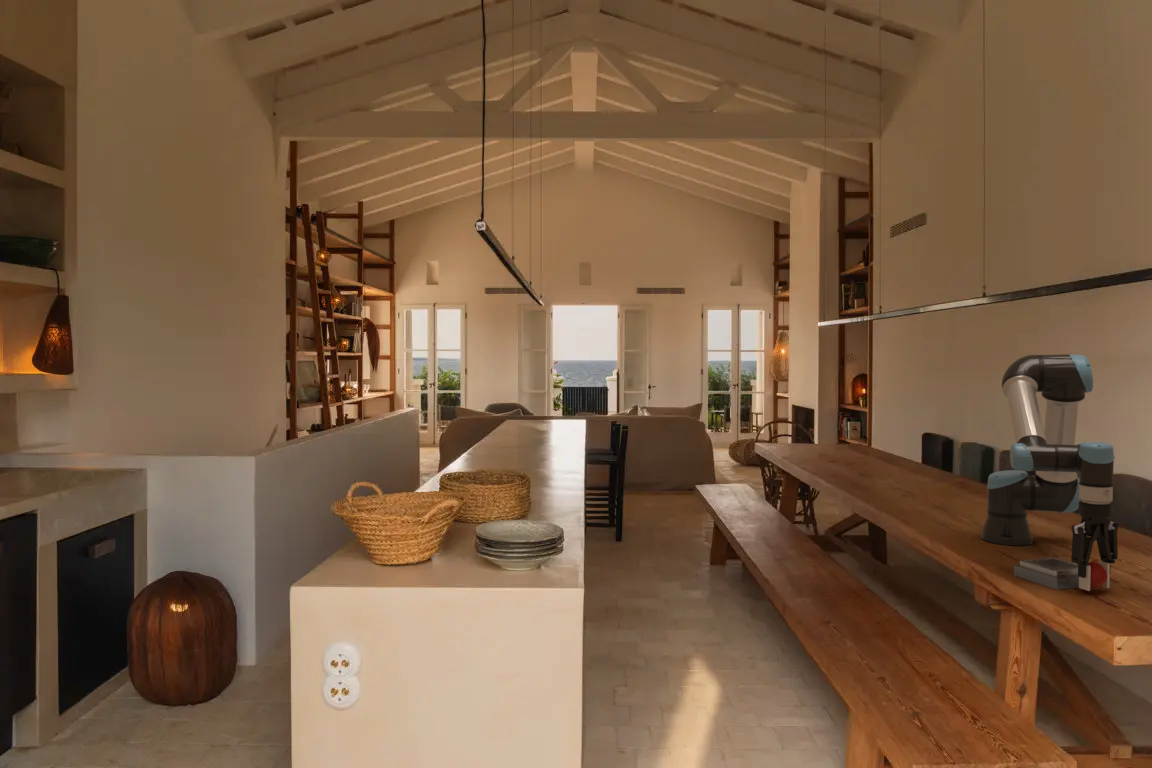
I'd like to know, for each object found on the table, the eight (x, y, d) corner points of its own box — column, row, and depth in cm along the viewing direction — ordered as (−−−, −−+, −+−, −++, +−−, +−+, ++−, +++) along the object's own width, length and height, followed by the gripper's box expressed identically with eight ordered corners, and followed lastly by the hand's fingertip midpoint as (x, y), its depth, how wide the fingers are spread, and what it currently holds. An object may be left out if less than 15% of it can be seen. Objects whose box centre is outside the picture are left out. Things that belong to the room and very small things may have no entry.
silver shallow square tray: (1014, 575, 224) (1014, 560, 224) (1052, 571, 228) (1052, 555, 228) (1057, 589, 211) (1057, 573, 211) (1097, 584, 215) (1097, 568, 215)
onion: (1083, 591, 207) (1084, 561, 206) (1078, 584, 212) (1078, 555, 212) (1109, 593, 205) (1110, 563, 204) (1103, 586, 210) (1104, 557, 210)
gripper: (1080, 507, 201) (1079, 596, 202) (1136, 501, 206) (1134, 588, 208) (1055, 501, 208) (1053, 587, 209) (1109, 495, 213) (1107, 579, 215)
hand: (1094, 587), depth 208 cm, fingers closed on onion, 6 cm apart
